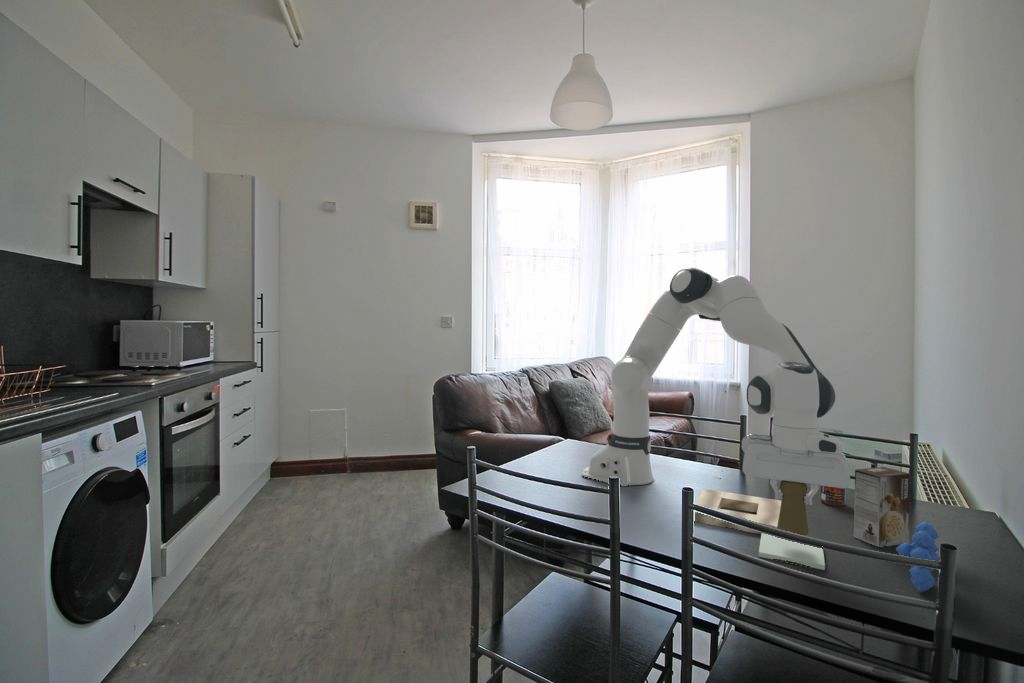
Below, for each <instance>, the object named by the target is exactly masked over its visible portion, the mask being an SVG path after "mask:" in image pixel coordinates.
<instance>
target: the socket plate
mask: <svg viewBox="0 0 1024 683" xmlns="http://www.w3.org/2000/svg"><path fill="white" fill-rule="evenodd" d="M781 501H782V500H777V499H775V498H774V499H773V498H767V497H761V496H760V497H759V496H752V495H746V494H739V493H736V492H735V493H733V492H727V491H723V490H722V491H720V490H716V489H715V490H714V489H710V488H702V490H701V492H700V494H699V496H698V498H697V500H696V501H695V503H694V505H699V506H704V507H707V508H711V509H715V510H718V511H721V512H724V513H728V514H731V515H735V516H738V517H742V518H745V519H747V520H751V521H754V522H757V523H761V524H764V525H768V526H771V527H775V528H777V525H778V519H779V513H780V507H781ZM723 508H725V509H723ZM729 509H732V510H729ZM736 510H737V511H736ZM738 510H739V511H738ZM741 511H744V512H741ZM747 512H750V513H747ZM755 512H756V514H753V513H755ZM698 522H699V524H705V525H709V524H710V526H714V525H715V526H716V527H721V528H725V527H728V528H727V529H730V527H731V528H734V529H733V530H736V529H737V530H736V531H741V530H742V531H743V532H747V533H752V534H758V535H761V534H762V533H760V532H756V531H753V530H750V529H747V528H744V527H741V526H738V525H735V524H732V523H729V522H726V521H723V520H719V519H716V518H713V517H711V516H708V515H704V514H701V513H698V512H695V522H694V523H698ZM715 526H714V527H715Z"/></svg>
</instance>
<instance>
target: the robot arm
mask: <svg viewBox="0 0 1024 683" xmlns="http://www.w3.org/2000/svg"><path fill="white" fill-rule="evenodd" d="M695 315H696V316H697V315H698V317H699V319H700V320H701V319H702V320H710V321H713V322H714V321H715V322H721V325H722V328H723V330H724V332H725V333H726V334H727V335H728V337H729V338H730V339H732V340H733V341H735V342H737V343H740V344H743V345H749V346H753V347H756V348H759V349H763V350H766V351H769V352H771V353H772V354H774V355H776V356H777V357H778V358H779V359H780V361H781V362H780V363H777V364H776V365H775V366H774V369H773V370H771V371H769V372H767V373H763V374H761V375H756V376H754V377H753V378H752V379H751V380H750V382H748V384H747V386H746V402H747V405H748V406H749V407H750V409H752V411H753V412H755V413H756V414H758V415H762V416H768V417H769V416H770V417H771V416H772V421H771V435H768V434H755V433H749V434H748V435H745V436H744V437H742V439H741V450H742V451H743V452H744V455H743V462H742V473H744V475H745V476H747V477H753V478H754V477H755V478H762V479H769V484H770V486H771V488H772V489H773V491H774V494H775V495H774V500H780V501H782V500H783V497H782V496H783V493H782V492H781V490H780V488H778V486H777V485H778V481H782V480H784V481H791V482H799V483H805V484H806V485H808V484H809V486H810V489H811V490H810V491H809V493H807V494H806V495H805V496H804V504H805V505H811V506H812V505H813V497H814V496H815V495H816V494H817V493H818V491H819V486H820V487H821V486H829V487H836V488H844V489H845V488H846V489H847V488H848V487H850V485H851V474H850V468H849V467H850V466H849V463H848V459H847V457H846V456H845V454H844V452H843V451H844V443H843V441H842V440H841V439H840V438H839V437H837V436H833V435H830V434H828V433H825V432H824V431H823V432H822V431H820V430H819V428H820V426H819V422H818V419H819V418H822V417H824V416H825V415H826V414H828V412H829V411H830V410H831V409H832V408H833V406H834V405H835V402H836V391H835V388H834V386H833V385H832V383H831V382H830V380H829V379H828V378H827V377H826V376H825V375H824V374H823V373H822V372H821V371H820V370H819V369H818V368H817V366H816V365H815V364H814V362H813V361H812V359H811V358H810V356H809V355H808V353H807V352H806V351H805V349H804V347H803V346H802V344H801V342H799V341H798V339H797V337H796V336H795V335H794V333H793V332H792V331H791V330H790V328H789V327H788V326H787V325H785V324H784V323H783V322H780V321H779V320H777V319H776V318H775V317H774V316H773V315H772V314H771V313H770V311H768V310H767V307H765V304H764V303H763V301H762V299H761V297H760V295H759V293H758V292H757V290H756V288H755V287H754V286H753V284H752V283H751V282H750V281H749V280H748V278H747V277H745V276H742V275H738V274H736V275H733V274H732V275H730V276H729V275H728V276H726V277H724V278H723V279H720V280H719V279H718V278H716V277H714V276H712V275H711V274H709V273H707V272H706V271H704V270H702V269H699V268H696V267H691V266H687V267H684V268H681V269H679V270H678V271H677V272H676V273H675V274H674V275H673V277H672V279H671V281H670V283H669V288H668V289H666V290H665V291H664V292H663V294H661V296H660V297H658V299H657V301H656V302H655V303H654V304H653V306H652V307H651V309H650V310H649V312H648V313H647V315H646V316H645V318H644V320H643V322H642V323H641V325H640V327H639V328H638V330H637V332H636V333H635V335H634V337H633V339H632V340H631V343H630V344H629V346H628V348H627V350H626V352H625V353H624V355H623V357H622V358H621V359H620V360H619V361H617V362H616V363H615V364H614V366H613V367H612V370H611V394H612V404H613V431H612V430H611V432H609V434H607V436H606V441H607V444H606V445H604V446H602V448H600V449H598V450H596V452H593V454H592V455H591V458H590V460H589V465H588V466H587V467H585V468H584V469H583V470H582V471H581V476H582V475H583V476H585V477H588V478H587V479H589V478H592V479H591V480H594V479H596V480H595V481H598V480H599V482H602V481H603V482H602V483H606V484H609V483H608V477H609V476H617V477H619V478H620V484H621V487H628V485H629V486H637V485H638V486H639V485H647V484H651V483H653V482H654V481H655V478H654V475H653V470H652V466H651V458H650V457H651V456H650V453H651V450H652V449H651V447H652V443H651V442H652V441H651V435H650V403H649V401H650V399H649V382H650V380H651V378H652V377H653V376H654V374H655V372H656V371H657V369H658V368H659V366H660V364H661V363H662V361H663V359H664V358H665V356H666V355H667V353H668V352H669V351H670V348H672V345H673V344H674V342H675V341H676V339H677V338H678V336H679V334H680V333H681V331H682V330H683V328H684V326H685V324H686V322H687V321H688V320H689V319H690V318H692V316H695ZM583 476H582V477H583ZM585 477H584V478H585Z"/></svg>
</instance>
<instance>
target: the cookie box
mask: <svg viewBox="0 0 1024 683" xmlns="http://www.w3.org/2000/svg"><path fill="white" fill-rule="evenodd" d="M910 505H911V473H909V472H905V471H903V470H901V471H900V470H898V469H894V468H890V467H886V466H880V467H879V466H878V467H876V466H875V467H868V468H860V469H859V468H858V469H854V507H853V508H854V509H853V510H854V511H853V512H854V516H853V518H854V520H853V538H856V539H858V540H860V541H862V542H865V543H867V544H870V545H871V544H872V546H874V545H875V546H874V547H876V546H878V547H881V548H884V547H883V546H887V547H893V546H899V545H901V544H902V543H906V542H907V543H909V544H910V507H911V506H910ZM892 545H893V546H892ZM878 547H877V548H878Z"/></svg>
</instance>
